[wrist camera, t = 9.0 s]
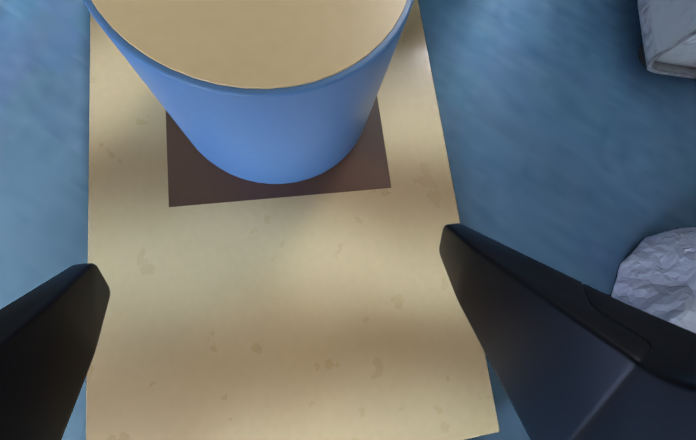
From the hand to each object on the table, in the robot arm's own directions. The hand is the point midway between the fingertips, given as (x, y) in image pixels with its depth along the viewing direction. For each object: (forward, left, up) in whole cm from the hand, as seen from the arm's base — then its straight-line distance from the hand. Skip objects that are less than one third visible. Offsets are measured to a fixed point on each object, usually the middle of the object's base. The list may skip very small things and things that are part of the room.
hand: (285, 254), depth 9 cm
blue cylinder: (+8, +5, -7) cm, 12 cm away
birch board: (+4, +2, -8) cm, 9 cm away
